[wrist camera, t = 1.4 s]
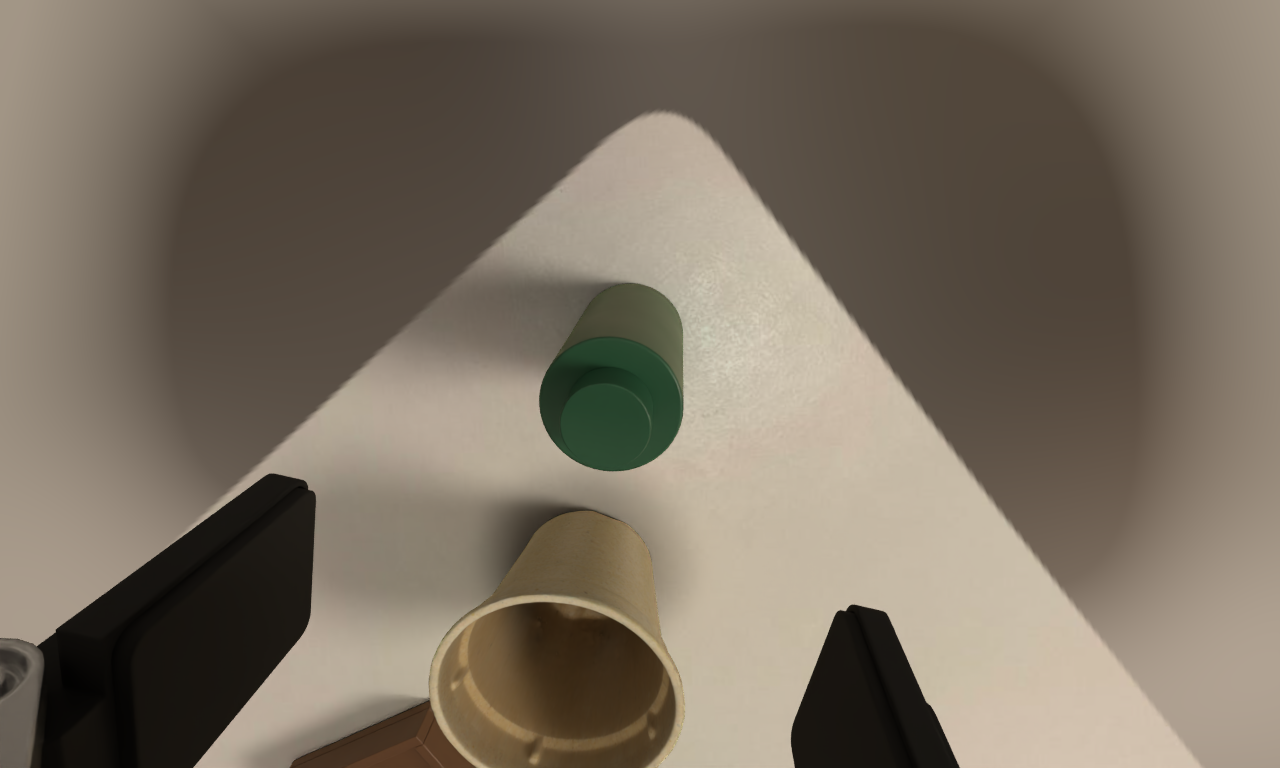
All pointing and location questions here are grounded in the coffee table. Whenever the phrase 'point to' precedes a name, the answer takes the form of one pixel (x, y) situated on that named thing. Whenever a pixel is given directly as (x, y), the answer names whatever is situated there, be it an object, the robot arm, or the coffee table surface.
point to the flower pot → (563, 658)
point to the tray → (391, 746)
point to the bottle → (617, 381)
